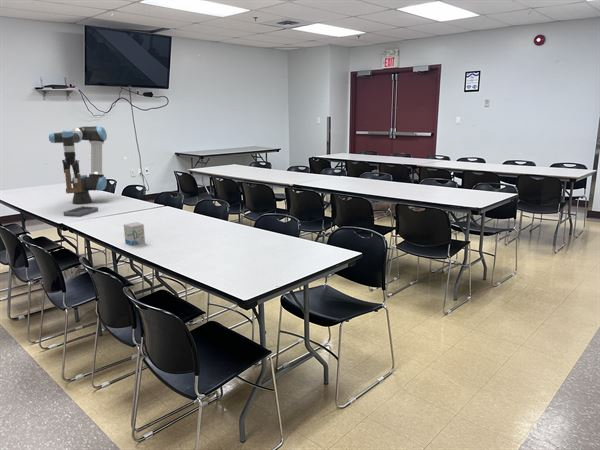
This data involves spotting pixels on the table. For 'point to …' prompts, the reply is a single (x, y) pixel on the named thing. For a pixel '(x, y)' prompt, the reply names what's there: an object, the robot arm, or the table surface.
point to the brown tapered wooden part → (68, 183)
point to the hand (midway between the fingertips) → (72, 182)
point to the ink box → (134, 233)
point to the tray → (80, 211)
